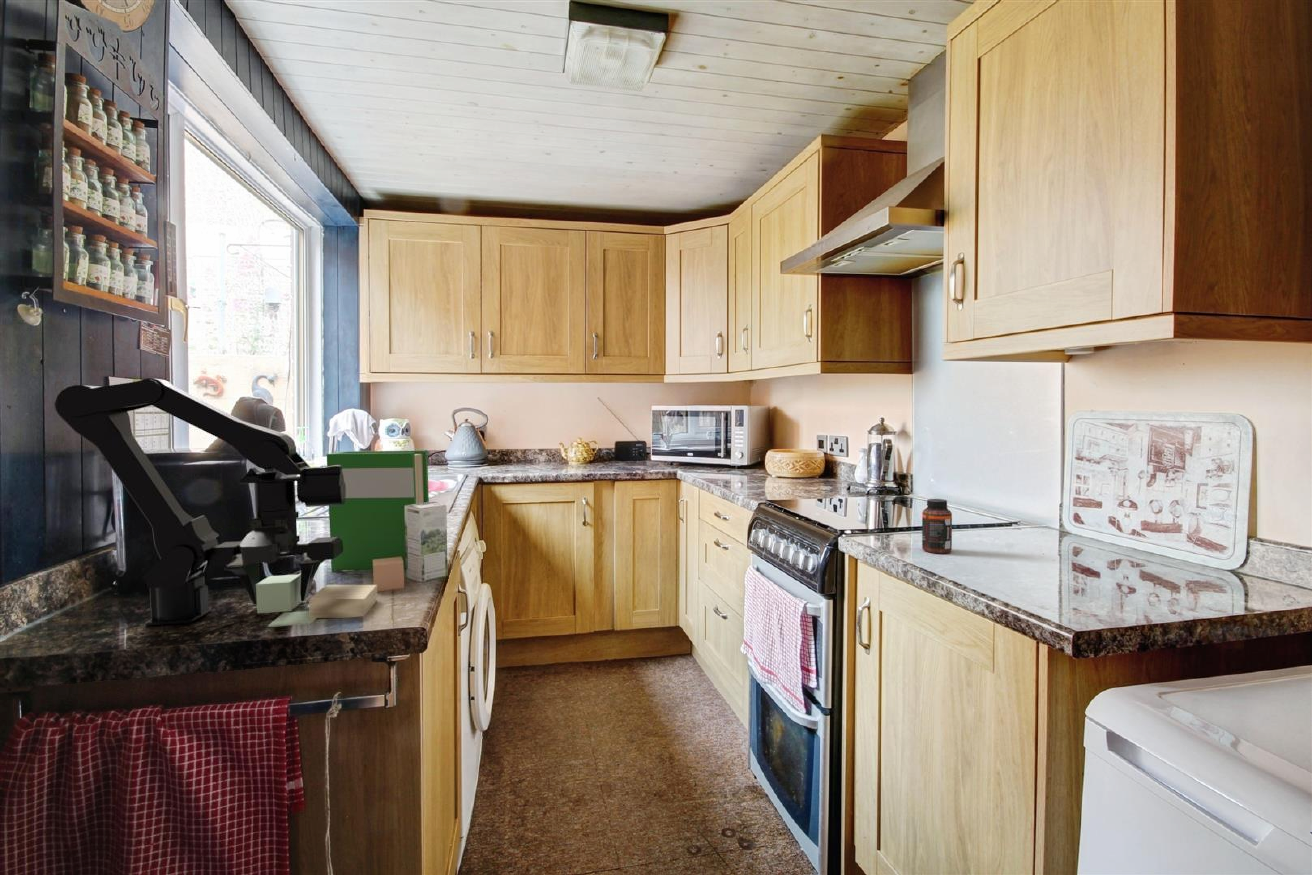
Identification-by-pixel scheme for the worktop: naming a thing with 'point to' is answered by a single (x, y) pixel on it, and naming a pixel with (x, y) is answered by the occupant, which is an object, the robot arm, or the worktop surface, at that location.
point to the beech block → (342, 601)
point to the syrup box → (426, 541)
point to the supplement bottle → (937, 527)
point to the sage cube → (278, 593)
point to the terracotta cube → (388, 573)
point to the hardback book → (376, 504)
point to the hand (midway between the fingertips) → (280, 602)
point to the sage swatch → (292, 619)
